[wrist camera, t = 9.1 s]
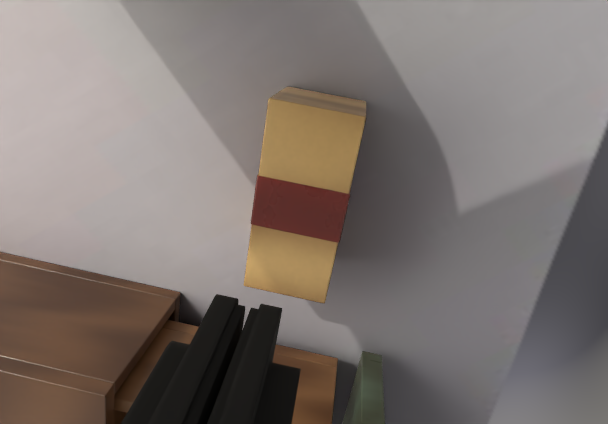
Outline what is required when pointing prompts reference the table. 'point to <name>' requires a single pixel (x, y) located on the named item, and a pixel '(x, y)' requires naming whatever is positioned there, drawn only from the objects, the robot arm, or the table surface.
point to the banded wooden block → (302, 191)
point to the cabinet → (71, 339)
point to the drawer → (314, 367)
